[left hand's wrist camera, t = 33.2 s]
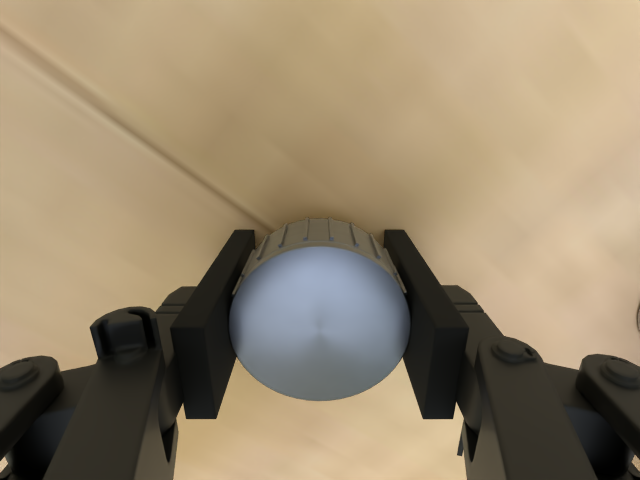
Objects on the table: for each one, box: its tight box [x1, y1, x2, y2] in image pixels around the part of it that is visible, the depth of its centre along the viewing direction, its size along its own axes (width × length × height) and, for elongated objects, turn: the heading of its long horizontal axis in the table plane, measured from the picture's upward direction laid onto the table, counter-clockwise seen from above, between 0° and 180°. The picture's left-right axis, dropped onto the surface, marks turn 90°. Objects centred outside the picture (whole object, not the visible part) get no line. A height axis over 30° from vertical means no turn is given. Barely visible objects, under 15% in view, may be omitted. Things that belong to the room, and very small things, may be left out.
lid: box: [228, 217, 411, 401], centre depth 11 cm, size 5×5×2 cm
